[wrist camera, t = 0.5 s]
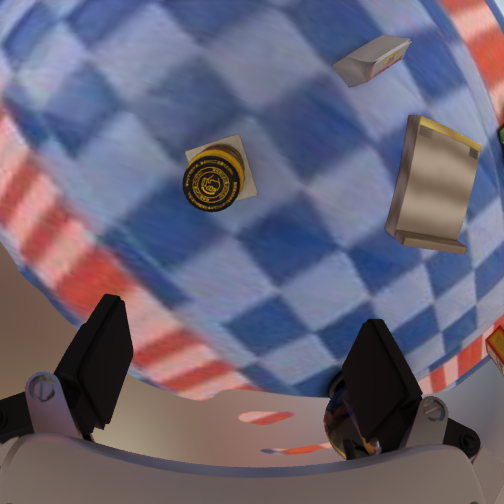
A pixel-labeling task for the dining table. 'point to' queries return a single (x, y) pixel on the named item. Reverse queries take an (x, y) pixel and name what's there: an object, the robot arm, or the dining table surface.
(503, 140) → the kettle
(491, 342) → the baking soda box
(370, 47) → the small white carton
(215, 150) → the condiment
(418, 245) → the dock
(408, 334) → the dining table surface
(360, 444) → the amphora vase
